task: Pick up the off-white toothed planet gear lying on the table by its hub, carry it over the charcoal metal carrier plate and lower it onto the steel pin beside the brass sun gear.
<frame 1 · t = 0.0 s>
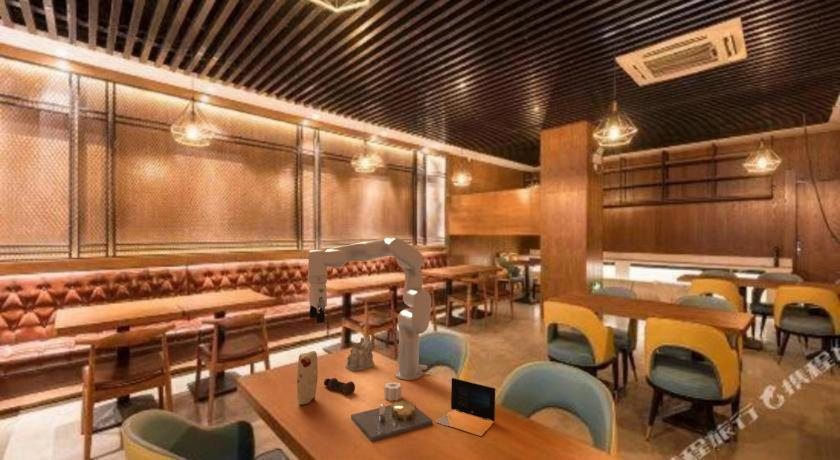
hand: (316, 320, 165), 31 cm above the table, tool pointing down, fingers open, 9 cm apart
planet gear: (392, 397, 164), on the table
bolt: (338, 391, 170), on the table
laptop: (465, 424, 144), on the table
food model: (306, 402, 158), on the table
grey jagged tapered piece: (357, 364, 203), on the table
sun gear: (403, 418, 146), resting on carrier plate
carrier plate: (391, 421, 143), on the table
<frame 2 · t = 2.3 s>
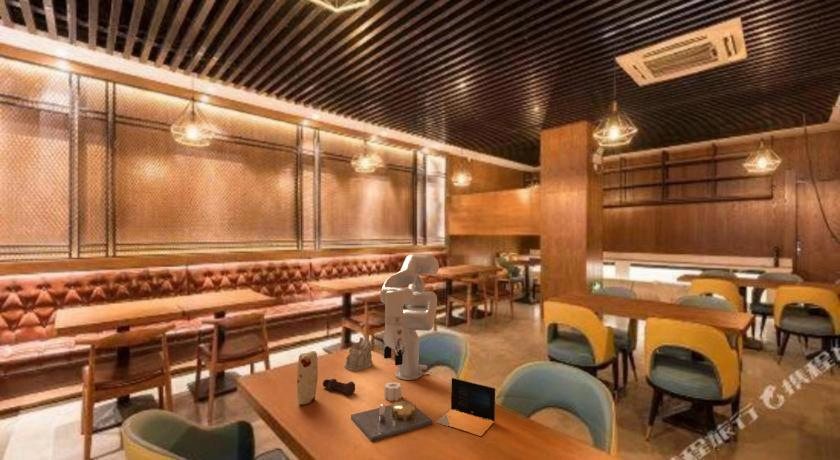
hand: (393, 361, 164), 15 cm above the table, tool pointing down, fingers open, 9 cm apart
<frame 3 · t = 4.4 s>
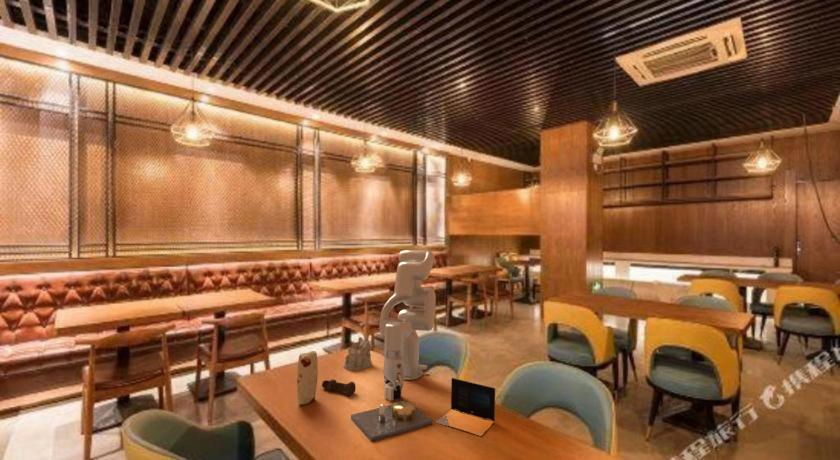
hand: (392, 395, 164), 1 cm above the table, tool pointing down, fingers closed on planet gear, 7 cm apart
planet gear: (392, 397, 164), on the table, touching gripper
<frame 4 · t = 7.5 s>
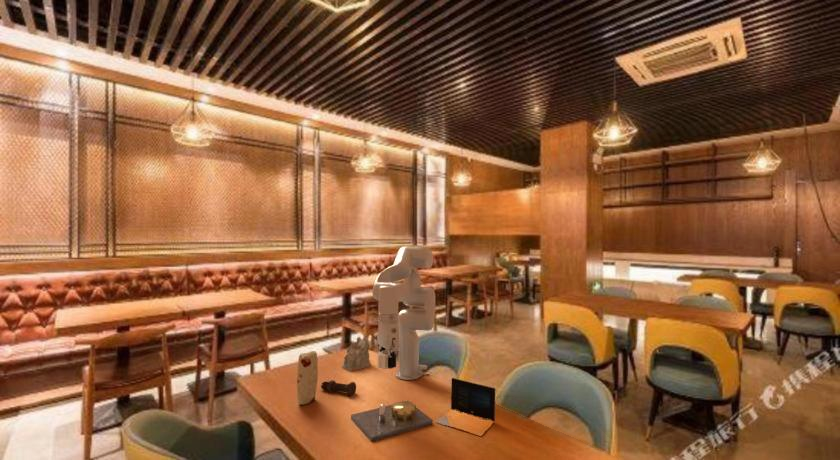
hand: (387, 364, 150), 19 cm above the table, tool pointing down, fingers closed on planet gear, 7 cm apart
planet gear: (387, 366, 150), point 18 cm above the table, touching gripper
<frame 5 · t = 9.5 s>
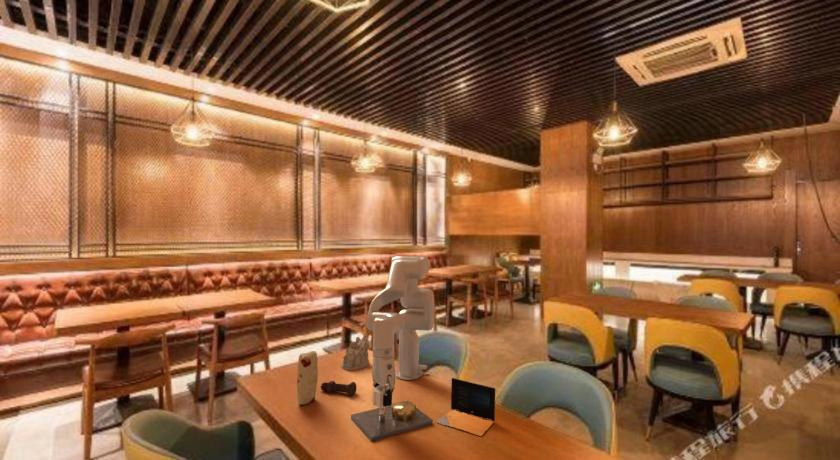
hand: (382, 401, 141), 8 cm above the table, tool pointing down, fingers closed on planet gear, 7 cm apart
planet gear: (382, 403, 141), point 8 cm above the table, touching gripper
when the fingers open (4 cm above the table, at t = 10.9 s): planet gear drops 1 cm, resting on carrier plate.
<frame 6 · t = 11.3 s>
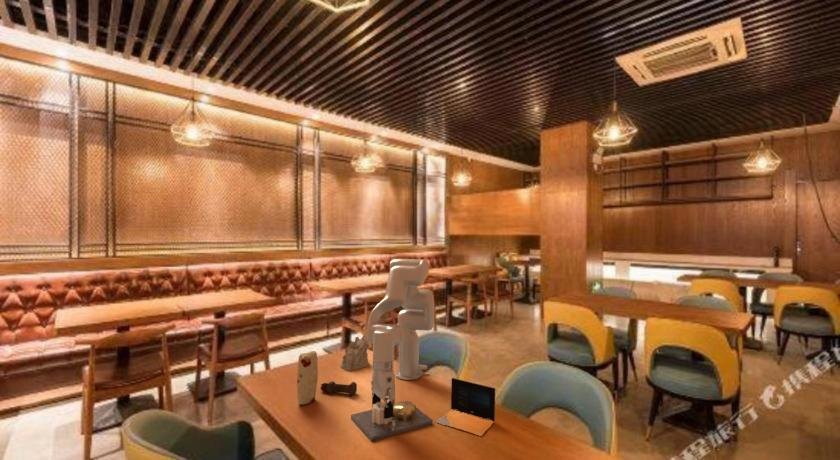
hand: (382, 412, 141), 4 cm above the table, tool pointing down, fingers open, 9 cm apart
planet gear: (381, 419, 142), point 1 cm above the table, touching carrier plate
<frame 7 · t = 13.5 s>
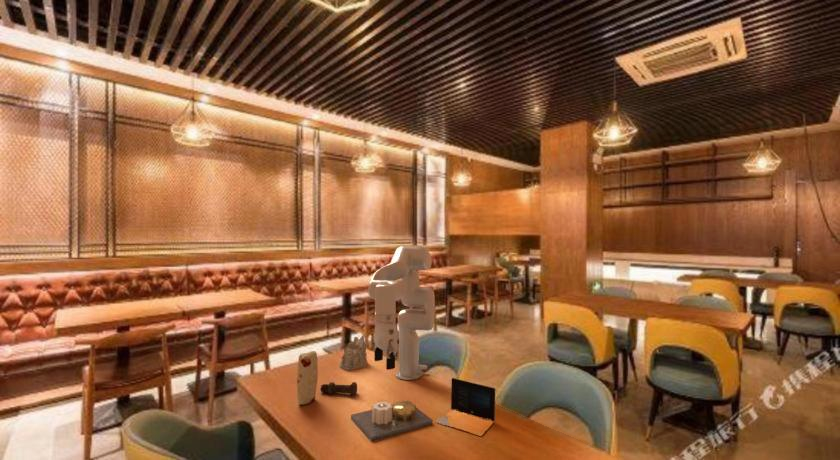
hand: (384, 364, 144), 21 cm above the table, tool pointing down, fingers open, 9 cm apart
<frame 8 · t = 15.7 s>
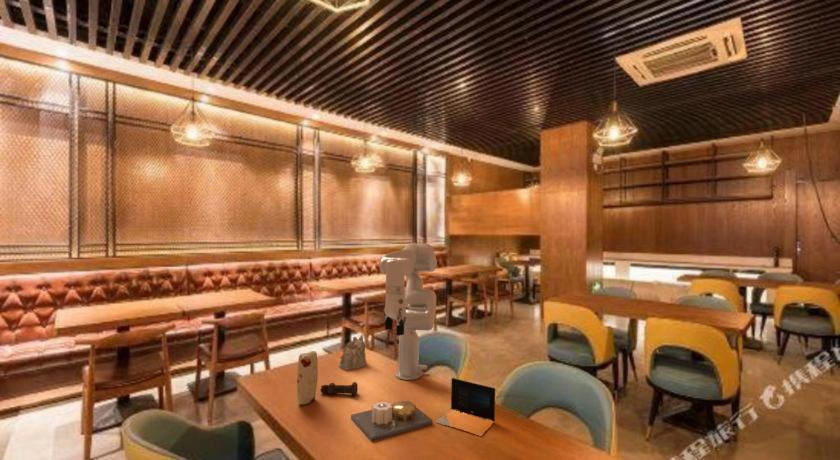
hand: (394, 332, 160), 28 cm above the table, tool pointing down, fingers open, 9 cm apart
at the end: planet gear 0.1 cm from the target spot on the carrier plate, point 1.5 cm above the carrier plate's base; planet gear tilted 0°; the gripper is holding nothing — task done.
